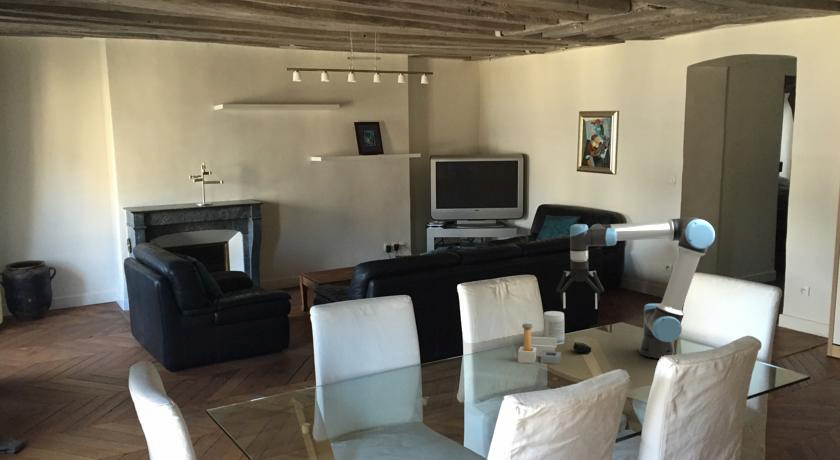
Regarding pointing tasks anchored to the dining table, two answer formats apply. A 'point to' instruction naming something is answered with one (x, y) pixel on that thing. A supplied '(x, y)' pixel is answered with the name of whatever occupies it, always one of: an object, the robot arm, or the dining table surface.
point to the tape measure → (582, 347)
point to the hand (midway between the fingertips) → (580, 308)
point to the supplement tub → (554, 325)
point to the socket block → (527, 355)
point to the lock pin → (527, 336)
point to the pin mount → (551, 357)
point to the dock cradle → (543, 344)
